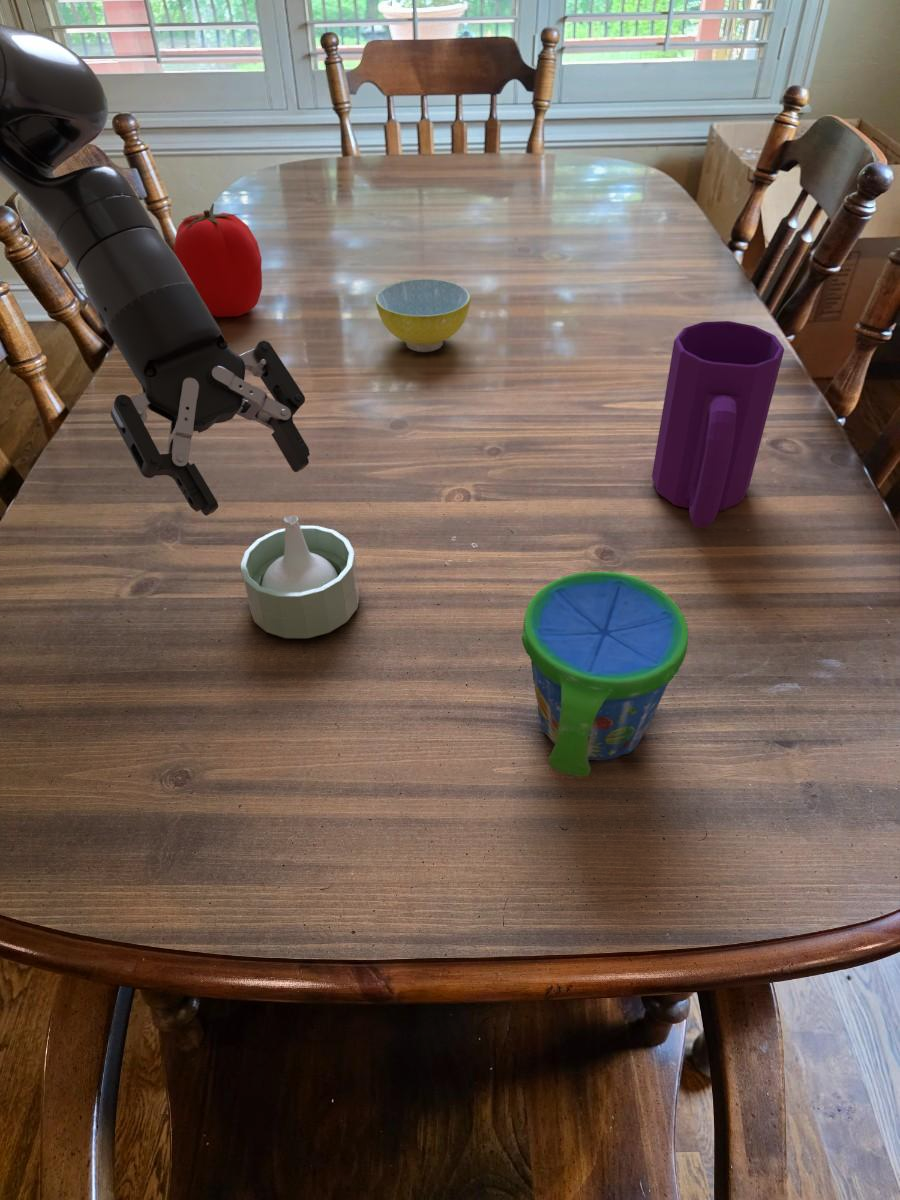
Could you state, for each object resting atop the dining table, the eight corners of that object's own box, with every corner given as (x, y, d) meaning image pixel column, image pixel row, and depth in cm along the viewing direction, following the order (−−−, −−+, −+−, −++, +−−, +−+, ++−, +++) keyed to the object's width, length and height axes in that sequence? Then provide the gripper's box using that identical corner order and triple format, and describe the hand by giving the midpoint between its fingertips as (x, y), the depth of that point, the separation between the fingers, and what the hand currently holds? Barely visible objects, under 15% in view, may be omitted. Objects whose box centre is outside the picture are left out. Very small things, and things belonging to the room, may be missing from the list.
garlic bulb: (268, 632, 70) (251, 554, 64) (262, 582, 74) (245, 506, 69) (346, 618, 71) (335, 541, 65) (335, 570, 75) (324, 494, 70)
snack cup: (627, 837, 56) (648, 735, 49) (479, 778, 59) (479, 675, 52) (692, 676, 66) (717, 574, 59) (562, 634, 70) (572, 533, 63)
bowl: (437, 317, 115) (436, 270, 111) (487, 349, 107) (488, 300, 103) (362, 339, 110) (358, 291, 106) (409, 374, 103) (407, 324, 99)
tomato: (236, 338, 111) (215, 232, 102) (164, 319, 116) (139, 216, 107) (291, 305, 118) (277, 203, 110) (222, 288, 123) (203, 190, 114)
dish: (293, 659, 68) (284, 612, 65) (230, 605, 73) (218, 559, 70) (381, 605, 73) (377, 559, 69) (316, 557, 77) (309, 511, 74)
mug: (746, 466, 87) (781, 323, 77) (751, 563, 76) (793, 410, 66) (653, 457, 89) (676, 315, 79) (644, 550, 77) (670, 399, 67)
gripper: (68, 312, 61) (190, 514, 62) (241, 256, 68) (347, 438, 69) (59, 358, 67) (170, 540, 68) (217, 302, 74) (315, 468, 76)
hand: (259, 489), depth 69 cm, fingers open, 8 cm apart
